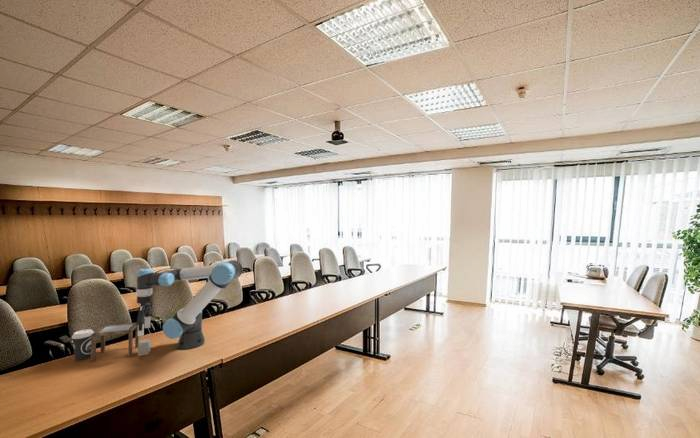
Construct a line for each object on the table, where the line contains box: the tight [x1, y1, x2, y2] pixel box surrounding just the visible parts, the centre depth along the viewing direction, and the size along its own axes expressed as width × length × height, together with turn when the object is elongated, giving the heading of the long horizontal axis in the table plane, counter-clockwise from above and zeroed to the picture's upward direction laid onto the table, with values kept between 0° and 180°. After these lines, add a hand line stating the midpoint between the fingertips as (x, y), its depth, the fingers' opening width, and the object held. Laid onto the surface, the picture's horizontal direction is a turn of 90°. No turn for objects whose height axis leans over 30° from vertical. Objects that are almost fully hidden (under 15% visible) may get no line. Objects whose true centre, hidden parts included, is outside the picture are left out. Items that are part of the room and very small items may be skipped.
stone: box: [137, 339, 152, 357], centre depth 172 cm, size 5×5×7 cm
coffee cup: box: [71, 328, 95, 362], centre depth 166 cm, size 10×10×15 cm
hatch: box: [99, 324, 134, 333], centre depth 171 cm, size 14×11×1 cm
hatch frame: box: [90, 322, 140, 363], centre depth 171 cm, size 18×14×15 cm
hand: (144, 331), depth 172 cm, fingers open, 13 cm apart
